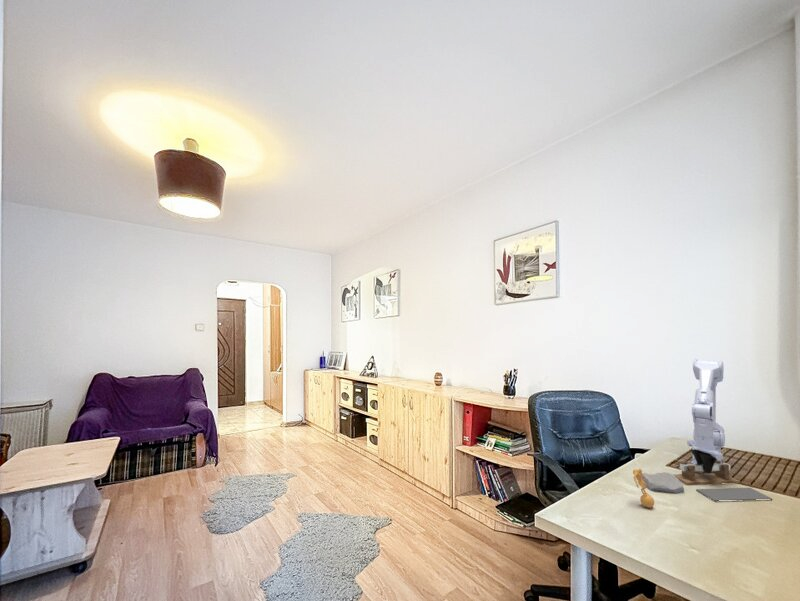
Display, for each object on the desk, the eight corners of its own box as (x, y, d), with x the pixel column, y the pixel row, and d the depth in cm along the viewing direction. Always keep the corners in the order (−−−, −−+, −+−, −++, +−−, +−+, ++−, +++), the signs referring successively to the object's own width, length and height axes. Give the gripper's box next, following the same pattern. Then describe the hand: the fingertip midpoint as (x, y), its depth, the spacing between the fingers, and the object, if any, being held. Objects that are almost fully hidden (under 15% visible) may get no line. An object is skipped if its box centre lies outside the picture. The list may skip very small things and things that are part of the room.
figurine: (649, 513, 125) (648, 476, 125) (629, 506, 130) (628, 470, 130) (658, 504, 130) (657, 468, 131) (638, 498, 135) (637, 463, 135)
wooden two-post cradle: (686, 485, 144) (686, 467, 144) (672, 477, 151) (672, 460, 151) (739, 483, 144) (738, 466, 145) (723, 475, 151) (722, 459, 152)
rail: (683, 471, 147) (683, 466, 147) (679, 469, 149) (679, 464, 149) (730, 470, 147) (730, 464, 147) (725, 468, 149) (725, 462, 149)
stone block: (687, 498, 138) (670, 480, 148) (688, 486, 137) (671, 469, 147) (652, 499, 139) (637, 481, 149) (653, 487, 138) (638, 470, 148)
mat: (696, 490, 139) (696, 489, 139) (750, 489, 140) (750, 487, 140) (714, 502, 131) (714, 500, 131) (772, 500, 132) (772, 498, 132)
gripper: (679, 429, 155) (680, 463, 155) (709, 442, 141) (710, 479, 140) (696, 429, 155) (697, 463, 155) (728, 441, 141) (729, 479, 141)
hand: (705, 471), depth 148 cm, fingers closed on rail, 2 cm apart
